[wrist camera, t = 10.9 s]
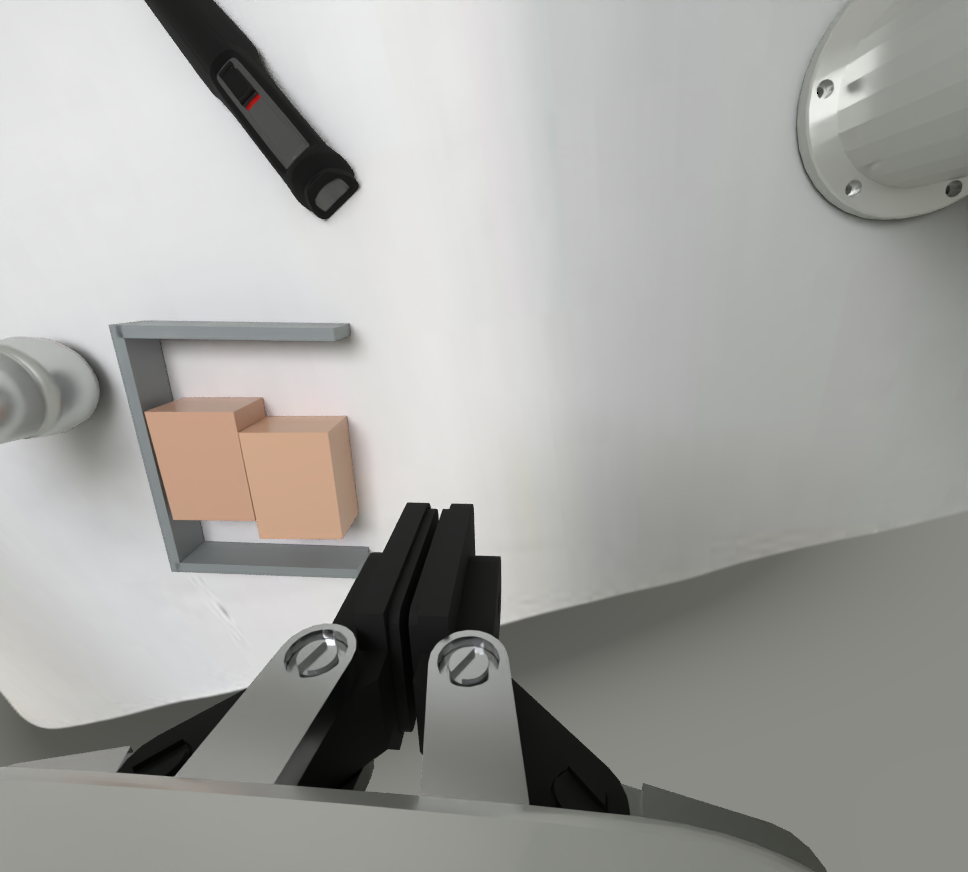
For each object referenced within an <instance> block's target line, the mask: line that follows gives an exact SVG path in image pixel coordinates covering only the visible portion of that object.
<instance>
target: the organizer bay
mask: <svg viewBox="0 0 968 872" xmlns="http://www.w3.org/2000/svg"><path fill="white" fill-rule="evenodd" d="M109 329H110V333H111V336H112V340H113V344H114V348H115V352H116V356H117V360H118V364H119V368H120V372H121V376H122V379H123V383H124V387H125V391H126V395H127V399H128V403H129V407H130V411H131V415H132V418H133V422H134V426H135V430H136V434H137V438H138V442H139V446H140V450H141V454H142V457H143V461H144V465H145V469H146V473H147V477H148V481H149V485H150V489H151V493H152V496H153V500H154V504H155V508H156V512H157V516H158V520H159V524H160V528H161V532H162V535H163V539H164V543H165V547H166V551H167V555H168V559H169V563H170V567H171V571H172V572H195V573H222V574H249V575H276V576H303V577H330V578H357V576H358V575H359V573H360V571H361V569H362V567H363V565H364V563H365V561H366V560H367V558H368V556H369V547H353V546H324V545H295V544H266V543H236V542H207V541H204V537H203V533H202V528H201V524H200V520H173V517H172V513H171V509H170V506H169V502H168V498H167V494H166V491H165V487H164V483H163V480H162V476H161V472H160V468H159V465H158V461H157V457H156V454H155V450H154V446H153V442H152V439H151V435H150V431H149V428H148V424H147V420H146V416H145V413H144V412H145V411H148V410H151V409H153V408H156V407H159V406H161V405H164V404H167V403H169V402H172V401H173V398H172V394H171V389H170V385H169V380H168V376H167V371H166V367H165V362H164V358H163V353H162V349H161V344H160V340H159V339H213V340H277V341H337V340H340V339H342V338H345V337H348V336H350V327H349V324H345V323H274V322H203V321H137V322H129V323H121V324H113V325H109Z"/></svg>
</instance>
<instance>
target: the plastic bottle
mask: <svg viewBox="0 0 968 872" xmlns="http://www.w3.org/2000/svg"><path fill="white" fill-rule="evenodd" d="M99 397H100V388H99V383H98V380H97V377H96V375H95V373H94V371H93V369H92V368H91V366H90V365H89V364H88V362H87V361H86V360H85V359H84V358H83V357H82V356H81V355H79V354H78V353H77V352H75V351H74V350H72V349H70V348H68V347H67V346H65V345H63V344H61V343H59V342H56V341H53V340H51V339H45V338H34V337H10V338H6V339H2V340H0V444H2V443H7V442H11V441H15V440H19V439H29V438H38V437H43V436H48V435H53V434H58V433H62V432H66V431H68V430H70V429H72V428H74V427H75V426H77V425H79V424H81V423H82V422H84V421H86V420H87V419H88V418H89V417H90V416H92V414H93V412H94V411H95V409H96V406H97V404H98V401H99Z"/></svg>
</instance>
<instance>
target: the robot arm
mask: <svg viewBox="0 0 968 872" xmlns="http://www.w3.org/2000/svg"><path fill="white" fill-rule="evenodd" d="M817 91H818V93H819V96H818V95H817ZM797 132H798V142H799V150H800V153H801V157H802V160H803V163H804V166H805V170H806V171H807V173H808V175H809V177H810V178H811V180H812V182H813V184H814V185H815V187H816V188H817V189H818V190H819V192H820V193H821V194H822V195H823V196H824V197H825V198H826V199H827V200H828V201H829V202H831V203H832V204H834V205H835V206H837V207H838V208H840V209H841V210H843V211H844V212H847V213H850V214H853V215H856V216H859V217H862V218H868V219H877V220H890V219H901V218H908V217H913V216H918V215H924V214H928V213H931V212H933V211H936V210H939V209H941V208H944V207H947V206H949V205H951V204H953V203H955V202H957V201H958V200H960V199H962V198H964V197H966V196H967V195H968V0H850V1H849V2H848V3H847V4H846V6H845V7H844V8H843V9H842V11H841V12H840V13H839V14H838V16H837V17H836V18H835V20H834V21H833V22H832V23H831V25H830V26H829V28H828V30H827V31H826V33H825V35H824V36H823V38H822V40H821V41H820V43H819V45H818V47H817V48H816V50H815V52H814V55H813V57H812V60H811V62H810V65H809V67H808V70H807V72H806V75H805V78H804V82H803V86H802V90H801V94H800V99H799V105H798V118H797ZM845 188H846V193H845ZM500 613H501V557H500V556H475V531H474V507H473V504H451V506H450V509H443V510H442V513H441V516H440V519H439V517H438V510H437V509H431V506H430V504H429V503H407V504H406V506H405V508H404V510H403V512H402V514H401V516H400V518H399V520H398V522H397V524H396V526H395V529H394V531H393V533H392V535H391V537H390V539H389V541H388V543H387V545H386V547H385V549H384V551H383V553H380V552H373V553H370V555H369V556H368V558H367V560H366V561H365V563H364V565H363V567H362V569H361V571H360V573H359V575H358V576H357V578H356V580H355V582H354V584H353V586H352V588H351V590H350V591H349V593H348V595H347V597H346V599H345V601H344V603H343V604H342V606H341V608H340V610H339V612H338V614H337V616H336V618H335V619H334V621H333V623H332V624H321V625H315V626H312V627H309V628H307V629H304V630H302V631H300V632H299V633H297V634H296V635H294V636H292V637H291V638H290V639H289V640H288V641H287V642H286V643H285V644H284V645H283V646H282V647H281V648H280V649H279V650H278V652H277V653H276V654H275V655H274V657H273V658H272V659H271V660H270V661H269V663H268V664H267V665H266V666H265V667H264V669H263V670H262V671H261V672H260V673H259V675H258V676H257V677H256V678H255V680H254V681H253V682H252V683H251V684H250V686H249V687H248V688H246V689H245V690H243V691H241V692H239V693H237V694H235V695H234V696H232V697H230V698H228V699H226V700H224V701H222V702H220V703H218V704H217V705H215V706H213V707H211V708H209V709H207V710H205V711H203V712H201V713H200V714H198V715H196V716H194V717H192V718H191V719H189V720H186V721H185V722H183V723H181V724H179V725H177V726H175V727H174V728H171V729H170V730H168V731H166V732H164V733H162V734H160V735H158V736H157V737H155V738H154V739H152V740H150V741H149V742H147V743H146V744H144V745H143V746H141V747H140V748H139V749H138V750H137V751H136V752H133V750H132V747H131V746H126V747H120V748H114V749H107V750H101V751H94V752H88V753H81V754H75V755H68V756H62V757H56V758H49V759H43V760H36V761H30V762H24V763H17V764H13V765H9V766H6V767H0V872H827V871H826V869H825V867H824V866H823V865H822V864H821V862H820V861H819V859H818V858H817V857H816V856H815V854H814V853H813V852H812V851H811V849H810V848H809V847H808V846H806V845H805V844H804V843H803V842H802V841H800V840H799V839H798V838H797V837H796V836H794V835H793V834H792V833H791V832H789V831H787V830H785V829H783V828H781V827H778V826H776V825H774V824H772V823H770V822H766V821H763V820H760V819H757V818H754V817H750V816H747V815H744V814H741V813H738V812H734V811H731V810H728V809H725V808H722V807H718V806H715V805H712V804H709V803H705V802H702V801H699V800H696V799H693V798H689V797H686V796H683V795H680V794H676V793H673V792H670V791H667V790H664V789H660V788H657V787H654V786H651V785H648V784H644V783H643V786H642V790H639V789H636V788H633V787H630V786H627V785H624V784H621V783H620V781H619V780H618V779H617V777H616V776H615V775H614V774H613V773H612V771H611V770H610V769H609V768H608V767H607V766H606V765H605V764H604V763H603V762H602V761H601V760H600V759H599V758H597V757H596V756H595V755H594V754H593V753H592V752H591V751H590V750H589V749H588V748H587V747H586V746H584V745H583V744H582V743H581V742H580V741H579V740H578V739H577V738H576V737H575V736H574V735H573V734H571V733H570V732H569V731H568V730H567V729H566V728H565V727H564V726H563V725H562V724H561V723H560V722H559V721H557V720H556V719H555V718H554V717H553V716H552V715H551V714H550V713H549V712H548V711H547V710H545V709H544V708H543V707H542V706H541V705H540V704H539V703H538V702H537V701H536V700H535V699H534V698H533V697H532V696H530V695H529V694H528V693H527V692H526V691H525V690H524V689H523V688H522V687H520V685H518V684H517V683H516V682H515V681H514V680H513V679H512V678H511V674H510V666H509V660H508V655H507V652H506V650H505V647H504V646H503V645H502V644H501V643H500V641H499V628H500ZM416 717H417V725H418V735H419V746H420V752H421V753H422V755H423V763H422V780H421V796H415V795H403V794H391V793H378V792H366V791H365V790H366V788H367V786H368V784H369V781H370V779H371V776H372V773H373V769H374V759H375V758H376V757H378V756H379V755H380V754H382V753H383V752H384V751H386V750H387V749H394V750H400V746H401V743H402V738H403V735H404V731H405V732H412V731H413V729H414V725H415V721H416Z"/></svg>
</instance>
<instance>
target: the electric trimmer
mask: <svg viewBox="0 0 968 872" xmlns="http://www.w3.org/2000/svg"><path fill="white" fill-rule="evenodd" d="M145 2H146V3H147V5H148V6H149V7H150V9H151V10H152V11H153V13H154V14H155V16H156V17H157V18H158V20H159V21H160V23H161V24H162V25H163V27H164V28H165V29H166V31H167V32H168V34H169V35H170V36H171V38H172V39H173V41H174V42H175V43H176V45H177V46H178V47H179V49H180V50H181V52H182V53H183V54H184V56H185V57H186V59H187V60H188V61H189V63H190V64H191V65H192V67H193V68H194V70H195V71H196V72H197V74H198V75H199V76H200V78H201V79H202V80H203V82H204V83H205V84H206V85H207V87H208V88H209V89H210V91H211V92H212V93H213V94H214V95H215V96H216V97H217V98H218V99H220V100H221V101H222V102H223V103H224V105H225V106H226V107H227V108H228V109H229V110H230V111H231V113H232V114H233V115H234V116H235V117H236V119H237V120H238V121H239V123H240V124H241V125H242V127H243V128H244V129H245V131H246V132H247V133H248V135H249V136H250V137H251V138H252V140H253V141H254V142H255V144H256V145H257V146H258V148H259V149H260V150H261V152H262V153H263V154H264V155H265V157H266V158H267V159H268V161H269V162H270V163H271V165H272V166H273V167H274V169H275V170H276V171H277V173H278V174H279V175H280V176H281V178H282V179H283V180H284V182H285V183H286V184H287V186H288V187H289V189H290V190H291V192H292V193H293V195H294V196H295V197H296V199H297V200H298V201H299V202H300V203H301V204H302V205H303V206H304V207H306V208H307V209H308V210H310V211H312V212H313V213H314V214H315V215H316V216H318V217H319V218H321V219H327V218H329V217H330V216H331V215H332V214H333V213H334V212H335V211H336V210H337V209H338V208H339V207H340V206H341V205H342V204H343V203H344V202H345V201H346V200H347V199H349V198H350V197H351V196H352V195H353V194H354V192H355V191H356V190H357V189H358V183H357V181H356V180H355V178H354V173H353V170H352V169H351V167H350V166H349V165H348V163H347V162H346V160H344V159H343V158H342V157H341V156H340V155H339V154H338V153H336V152H335V151H334V150H332V149H331V148H330V147H328V146H327V145H326V144H325V143H324V141H323V140H322V139H321V138H320V137H319V136H318V134H317V133H316V132H315V131H314V130H313V129H312V127H311V126H310V125H309V124H308V123H307V122H306V120H305V119H304V118H303V117H302V116H301V115H300V113H299V112H298V111H297V110H296V109H295V108H294V106H293V105H292V104H291V103H290V101H289V100H288V99H287V98H286V97H285V95H284V94H283V93H282V92H281V90H280V89H279V88H278V86H277V85H276V84H275V82H274V81H273V79H272V78H271V77H270V75H269V74H268V73H267V71H266V70H265V68H264V67H263V66H262V63H261V61H260V59H259V56H258V52H257V49H256V48H255V46H254V45H253V44H252V42H251V41H250V40H249V39H248V38H247V37H246V35H245V34H244V33H243V32H242V31H241V30H240V29H239V28H238V27H237V25H236V24H235V23H234V22H233V21H232V20H231V19H230V18H229V17H228V16H227V15H226V14H225V13H224V11H223V10H222V9H221V8H220V7H219V6H218V5H217V4H216V3H215V2H214V1H213V0H145Z"/></svg>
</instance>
